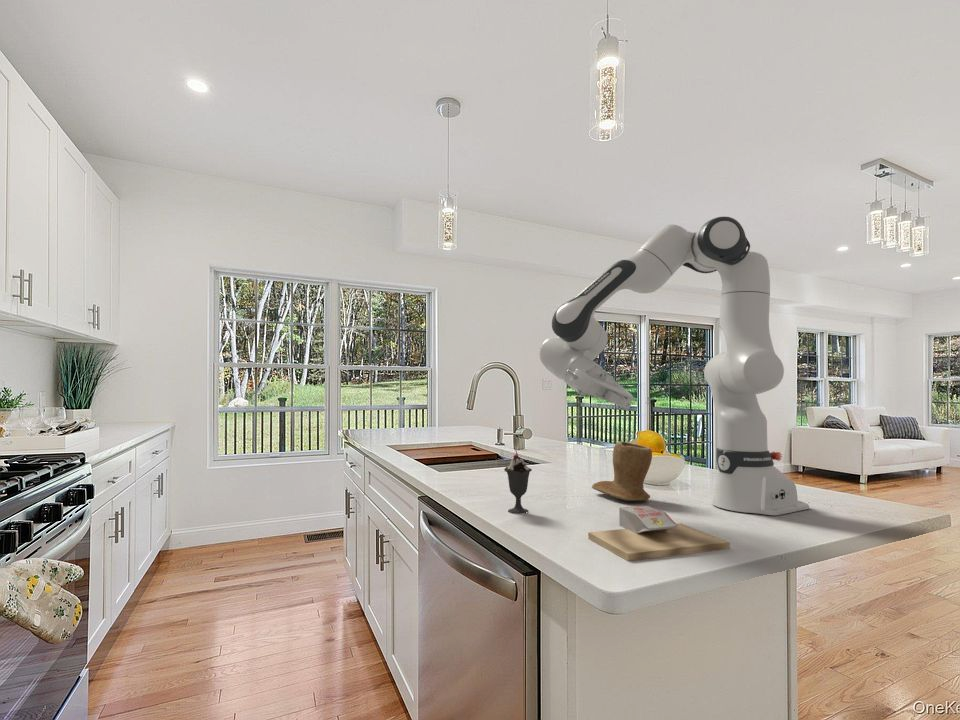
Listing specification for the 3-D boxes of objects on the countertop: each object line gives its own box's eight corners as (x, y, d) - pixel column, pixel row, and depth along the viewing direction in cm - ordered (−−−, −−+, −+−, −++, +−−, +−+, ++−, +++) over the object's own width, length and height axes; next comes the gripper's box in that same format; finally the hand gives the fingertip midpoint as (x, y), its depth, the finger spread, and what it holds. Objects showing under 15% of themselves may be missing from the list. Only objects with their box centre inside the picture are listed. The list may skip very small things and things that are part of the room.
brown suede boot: (662, 502, 134) (661, 443, 135) (624, 506, 130) (623, 445, 130) (626, 490, 148) (625, 438, 149) (590, 494, 144) (590, 439, 145)
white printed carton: (647, 523, 109) (679, 536, 100) (619, 525, 107) (649, 539, 98) (647, 505, 109) (678, 517, 100) (619, 507, 107) (648, 519, 98)
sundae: (513, 506, 129) (513, 446, 129) (537, 510, 125) (537, 448, 125) (498, 512, 123) (498, 448, 124) (523, 516, 119) (522, 450, 120)
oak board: (681, 529, 109) (680, 523, 109) (730, 548, 96) (729, 541, 96) (588, 538, 102) (588, 532, 102) (627, 560, 89) (627, 553, 90)
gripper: (570, 356, 124) (611, 385, 114) (613, 375, 138) (653, 403, 129) (556, 379, 125) (596, 409, 116) (600, 395, 139) (639, 424, 130)
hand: (626, 406), depth 122 cm, fingers closed
